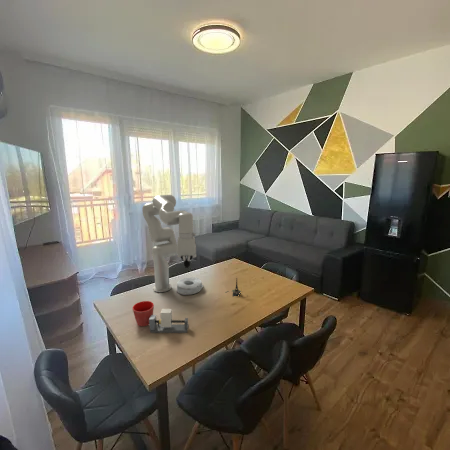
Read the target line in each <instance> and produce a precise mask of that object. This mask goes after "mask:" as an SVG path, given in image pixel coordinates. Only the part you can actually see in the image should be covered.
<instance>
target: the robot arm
mask: <svg viewBox="0 0 450 450" xmlns="http://www.w3.org/2000/svg"><path fill="white" fill-rule="evenodd" d="M176 204H177V200H176V198H175V196H174V195H173V194H160V195H156V196H155V197H153V198H152V201H151V202H147V203H145V204H143V205H142V215H143V218H144V220H145V222H146V224H147V228H148V232H149V236H150V239H151V242H152V243H154V244H155V245H154V246H153V247H152V248H151V255H152V260H153V269H154V270H153V271H154V272H153V273H154V286H152V290H153V291H154V292H156V293H166V292H169V291H170V290H171V289H172V287H173V286H172V284H171V283H170V273H169V271H170V270H169V269H170V267H169V263H168V261H167V260H166V258H170V257H174V256H176V257H177V258H179V259H180V258H181V260H183V265H184V268H185V269H189V267H190V266H191V260H192V259H194V258H197V244H196V238H195V236H196V235H197V233H195V232H194V222H193V221H194V219H193V218H194V216H193V213H191V212H187V210H175V207H176ZM157 216H159V218H158V217H157ZM160 220H161V221H160ZM162 223H163V224H165V225H166V226H175V225H178V234H179V235H178V237H177V240H176V235H175V232H174V230H173V228H172V227H162V225H161V224H162ZM165 242H166V243H165ZM158 243H159V244H158Z"/></svg>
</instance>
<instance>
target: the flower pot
mask: <svg viewBox="0 0 450 450" xmlns="http://www.w3.org/2000/svg"><path fill="white" fill-rule="evenodd" d="M154 305H155V304H154V303H153V302H152V301H149V300H142V301H140V302H136V303H135V304H134V305H133V306H132V313H133V315H134V319H135V322H136V324H137V326H139V327H147V326H150V325H149V319H150V317H151V315H154V307H155V306H154Z"/></svg>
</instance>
